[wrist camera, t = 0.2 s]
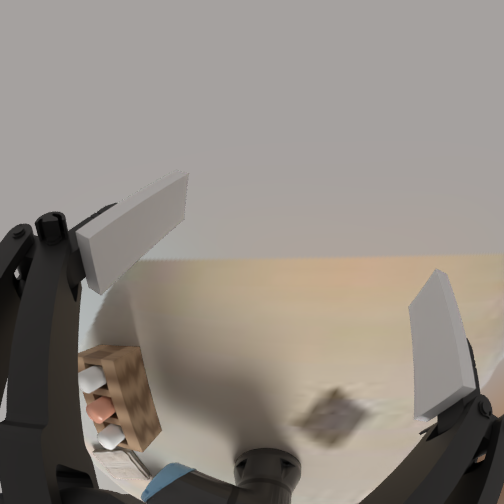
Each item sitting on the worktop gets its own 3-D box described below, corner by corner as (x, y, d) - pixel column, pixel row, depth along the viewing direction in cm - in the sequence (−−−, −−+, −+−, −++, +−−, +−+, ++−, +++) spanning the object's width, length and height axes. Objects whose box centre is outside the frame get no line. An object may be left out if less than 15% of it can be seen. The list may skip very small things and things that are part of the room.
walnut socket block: (161, 430, 51) (142, 452, 42) (122, 423, 53) (101, 441, 43) (139, 346, 52) (113, 360, 43) (100, 344, 54) (72, 355, 44)
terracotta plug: (128, 407, 47) (105, 425, 39) (113, 404, 48) (90, 421, 39) (122, 390, 48) (98, 406, 39) (108, 387, 48) (83, 402, 39)
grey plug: (119, 379, 48) (94, 395, 39) (105, 377, 48) (79, 391, 40) (115, 360, 48) (88, 374, 39) (100, 358, 49) (73, 371, 40)
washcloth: (155, 475, 52) (150, 481, 49) (117, 476, 55) (112, 481, 51) (130, 445, 53) (124, 450, 50) (95, 448, 56) (89, 453, 53)
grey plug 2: (136, 432, 47) (116, 451, 38) (121, 429, 48) (101, 446, 39) (131, 417, 47) (109, 435, 38) (116, 413, 48) (94, 431, 39)
